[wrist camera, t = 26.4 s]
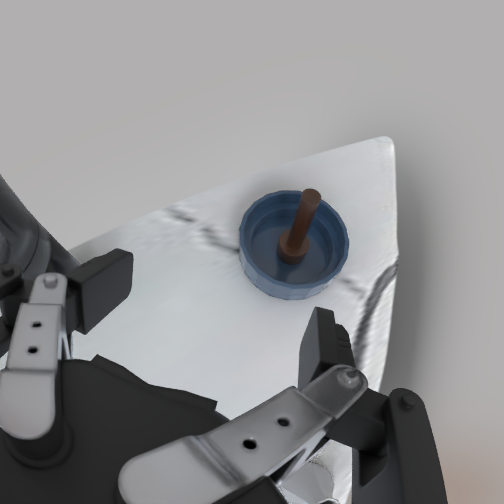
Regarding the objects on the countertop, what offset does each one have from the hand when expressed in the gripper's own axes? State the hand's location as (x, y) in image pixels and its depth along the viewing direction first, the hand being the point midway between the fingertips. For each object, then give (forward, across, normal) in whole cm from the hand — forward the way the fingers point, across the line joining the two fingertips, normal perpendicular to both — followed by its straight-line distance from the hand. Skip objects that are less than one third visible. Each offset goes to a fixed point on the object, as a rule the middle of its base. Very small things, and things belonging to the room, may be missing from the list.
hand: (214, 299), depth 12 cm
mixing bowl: (+33, -4, +8) cm, 34 cm away
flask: (+10, -15, +31) cm, 36 cm away
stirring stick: (+32, -4, +7) cm, 33 cm away
